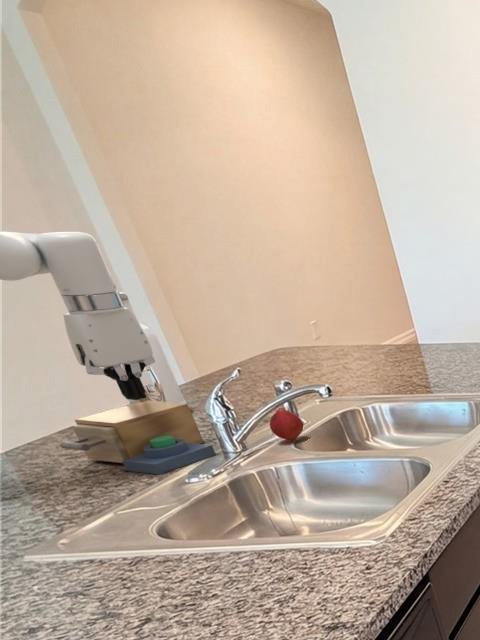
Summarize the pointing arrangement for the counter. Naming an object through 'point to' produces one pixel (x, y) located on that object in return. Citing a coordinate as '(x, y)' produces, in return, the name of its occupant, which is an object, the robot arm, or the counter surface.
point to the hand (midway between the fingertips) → (136, 398)
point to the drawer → (98, 442)
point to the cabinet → (147, 424)
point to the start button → (162, 441)
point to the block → (168, 457)
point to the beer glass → (149, 387)
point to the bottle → (160, 364)
